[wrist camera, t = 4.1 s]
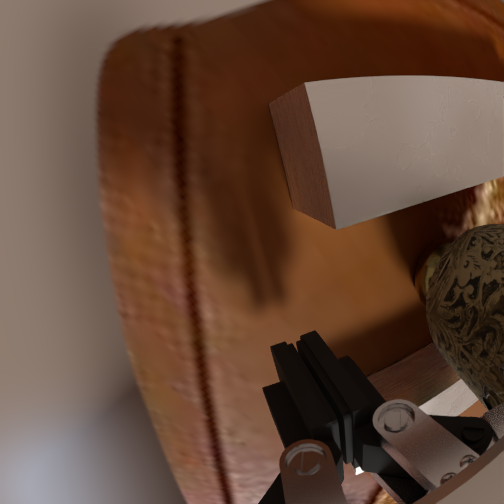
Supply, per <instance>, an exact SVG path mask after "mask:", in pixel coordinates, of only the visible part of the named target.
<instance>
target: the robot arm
mask: <svg viewBox="0 0 504 504" xmlns="http://www.w3.org/2000/svg"><path fill="white" fill-rule="evenodd" d="M300 339H301V340H299V341H297V342H296V345H297V349H298V352H297V350H296V348H295V347H294V345H293V344H292V343H291V344H288V345H287V343H286V342H282V343H279V344H276V345H273V346H270V348H271V352H272V356H273V359H274V363H275V366H276V370H277V373H278V377H279V380H280V382H278V383H275V384H272V385H269V386H266V387H263V388H262V389H263V392H264V395H265V398H266V401H267V403H268V406H269V409H270V412H271V414H272V417H273V420H274V422H275V425H276V427H277V430H278V433H279V435H280V438H281V440H282V443H283V445H284V448H285V450H284V451H283V452H282V455H281V457H280V462H279V466H280V473H279V475H278V476H277V478H276V479H275V481H274V482H273V484H272V485H271V486H270V488H269V489H268V491H267V492H266V494H265V495H264V496H263V498H262V499H261V501H260V502H259V503H258V504H347V502H346V499H345V495H344V492H343V489H342V485H341V484H342V482H343V480H344V471H343V461H344V462H345V464H348V463H351V464H352V466H353V467H354V469H356V468H358V467H360V468H361V470H362V471H366V472H370V473H371V474H372V476H373V477H374V479H375V480H376V481H377V482H378V483H379V484H380V485H381V486H382V487H383V488H384V489H385V491H386V492H387V493H388V494H389V495H390V496H391V497H392V498H393V499H394V500H395V501H396V502H397V503H398V504H504V402H503V403H502V404H500V405H498V406H496V407H494V408H492V409H491V410H489V411H487V412H485V413H484V414H483V416H482V417H480V418H478V417H460V416H440V415H427V414H426V413H425V412H424V411H422V410H421V409H420V408H419V407H417V406H416V405H415V404H413V403H411V402H410V401H407V400H403V399H395V400H391V401H388V402H386V400H385V399H384V398H383V397H382V396H381V394H380V393H379V392H378V391H377V389H376V388H375V387H374V386H373V385H372V383H371V382H370V381H369V380H368V378H367V377H366V376H365V375H364V374H363V372H362V371H361V370H360V369H359V367H358V366H357V365H356V364H355V363H354V361H353V360H352V359H351V358H350V357H349V356H345V357H342V358H340V359H337V358H336V356H335V355H334V354H333V353H332V351H331V350H330V349H329V347H328V346H327V345H326V343H325V342H324V341H323V339H322V338H321V337H320V335H319V334H318V333H317V332H316V331H315V330H314V331H312V332H309V333H307V334H304V335H301V336H300Z"/></svg>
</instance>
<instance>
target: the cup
mask: <svg viewBox="0 0 504 504" xmlns="http://www.w3.org/2000/svg"><path fill="white" fill-rule="evenodd" d="M415 288H416V291H417V294H418V296H419V298H420V300H421V301H422V303H423V304H424V305H425V306H426V318H427V323H428V328H429V331H430V334H431V336H432V339H433V341H434V343H435V345H436V346H437V348H438V350H439V351H440V353H441V354H442V355H443V357H444V358H445V360H446V361H447V362H448V363H449V365H450V366H451V367H452V368H453V370H454V371H455V372H456V373H457V374H458V375H459V377H460V378H461V379H462V380H463V381H464V383H465V384H466V385H467V386H468V387H469V389H470V390H471V391H472V392H473V393H474V395H475V396H476V397H477V398H478V399H479V401H480V402H481V403H482V404H483V405H484V406H485V408H486V409H487V410H488V411H489V410H491V409H492V408H494V407H496V406H498V405H500V404H502V403H503V402H504V225H502V224H488V225H483V226H478V227H475V228H473V229H471V230H469V231H467V232H465V233H463V234H462V235H461V236H459V237H458V238H457V239H455V238H446V239H441V240H438V241H436V242H434V243H433V244H431V245H430V246H429V247H428V248H427V249H426V251H425V252H424V253H423V255H422V257H421V258H420V260H419V263H418V265H417V269H416V273H415Z"/></svg>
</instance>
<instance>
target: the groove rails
mask: <svg viewBox="0 0 504 504" xmlns="http://www.w3.org/2000/svg"><path fill="white" fill-rule="evenodd" d="M268 104H269V108H270V112H271V116H272V120H273V124H274V128H275V132H276V136H277V140H278V144H279V148H280V152H281V156H282V160H283V164H284V169H285V173H286V177H287V181H288V186H289V190H290V195H291V199H292V204H293V208H294V209H295V210H297V211H299V212H301V213H304V214H306V215H308V216H310V217H312V218H314V219H316V220H318V221H320V222H322V223H324V224H326V225H328V226H330V227H332V228H334V229H335V230H338V229H341V228H344V227H347V226H350V225H353V224H357V223H360V222H363V221H366V220H369V219H372V218H375V217H379V216H382V215H385V214H388V213H391V212H394V211H397V210H400V209H404V208H407V207H410V206H413V205H416V204H419V203H422V202H425V201H429V200H432V199H435V198H438V197H441V196H444V195H447V194H450V193H453V192H456V191H460V190H463V189H466V188H469V187H472V186H475V185H478V184H481V183H484V182H487V181H490V180H494V179H497V178H500V177H503V176H504V82H499V81H492V80H483V79H473V78H461V77H445V76H372V77H355V78H342V79H331V80H322V81H313V82H305V83H303V84H301V85H299V86H297V87H296V88H294V89H292V90H290V91H289V92H287V93H285V94H283V95H282V96H280V97H278V98H277V99H275V100H273V101H272V102H270V103H268ZM367 378H368V380H369V381H370V382H371V383H372V385H373V386H374V387H375V388H376V389H377V391H378V392H379V393H380V394H381V396H382V397H383V398H384V399H385V400H386V402H388V401H391V400H395V399H403V400H407V401H410V402H411V403H413V404H415V405H416V406H417V407H419V408H420V409H421V410H422V411H424V412H425V413H426V414H427V415H440V416H458V415H459V414H460V413H462V412H463V411H464V410H466V409H467V408H468V407H470V406H471V405H472V404H474V403H475V402H476V401H477V400H479V399H478V398H477V397H476V396H475V395H474V393H473V392H472V391H471V390H470V389H469V387H468V386H467V385H466V384H465V383H464V381H463V380H462V379H461V378H460V377H459V375H458V374H457V373H456V372H455V371H454V370H453V368H452V367H451V366H450V365H449V363H448V362H447V361H446V360H445V358H444V357H443V355H442V354H441V353H440V351H439V350H438V348H437V346H436V345H435V343H434V342H432V343H431V344H429V345H427V346H425V347H424V348H422V349H420V350H418V351H417V352H415V353H413V354H411V355H409V356H408V357H406V358H404V359H402V360H400V361H398V362H396V363H394V364H393V365H391V366H389V367H387V368H385V369H383V370H381V371H379V372H377V373H375V374H373V375H370V376H368V377H367ZM349 464H350V466H351V468H352V469H353V471H354V473H355V475H358V474H360V473H362V472H364V471H362V470H361V468H360V467H358V468H356V469H354V467H353V466H352V464H351V463H349Z"/></svg>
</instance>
